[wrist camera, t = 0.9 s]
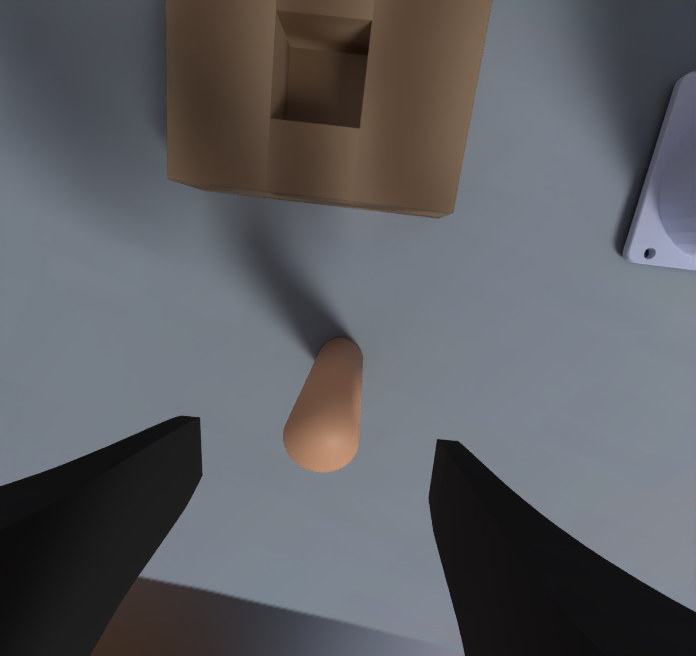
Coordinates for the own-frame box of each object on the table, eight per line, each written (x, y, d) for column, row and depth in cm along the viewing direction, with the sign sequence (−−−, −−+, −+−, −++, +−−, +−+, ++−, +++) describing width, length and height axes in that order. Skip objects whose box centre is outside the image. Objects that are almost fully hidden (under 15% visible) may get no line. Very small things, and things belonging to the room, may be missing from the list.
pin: (365, 340, 18) (363, 409, 11) (359, 382, 19) (353, 477, 11) (320, 334, 19) (285, 399, 11) (316, 377, 19) (280, 466, 11)
